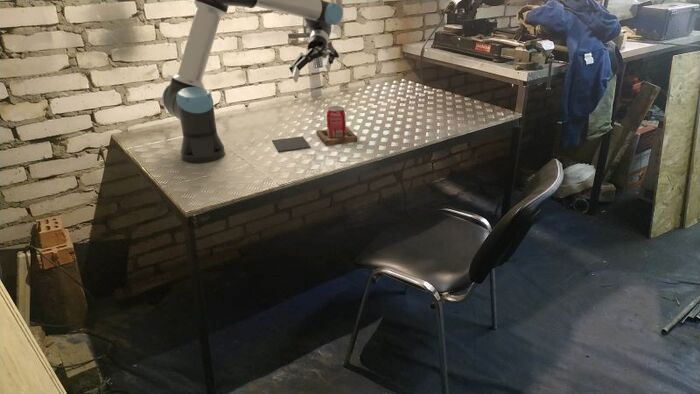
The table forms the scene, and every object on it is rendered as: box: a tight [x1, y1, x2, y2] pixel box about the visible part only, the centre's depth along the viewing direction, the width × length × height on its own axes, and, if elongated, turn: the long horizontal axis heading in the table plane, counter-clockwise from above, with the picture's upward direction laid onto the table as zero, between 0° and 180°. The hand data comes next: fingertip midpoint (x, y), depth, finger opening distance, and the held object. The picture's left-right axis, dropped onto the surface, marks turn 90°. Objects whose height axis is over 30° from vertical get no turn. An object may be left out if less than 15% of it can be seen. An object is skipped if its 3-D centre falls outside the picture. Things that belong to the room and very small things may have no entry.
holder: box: [316, 126, 358, 147], centre depth 198 cm, size 12×12×2 cm
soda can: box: [326, 105, 347, 139], centre depth 196 cm, size 7×7×12 cm
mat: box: [271, 136, 311, 153], centre depth 194 cm, size 12×12×1 cm
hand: (310, 73), depth 190 cm, fingers open, 13 cm apart
